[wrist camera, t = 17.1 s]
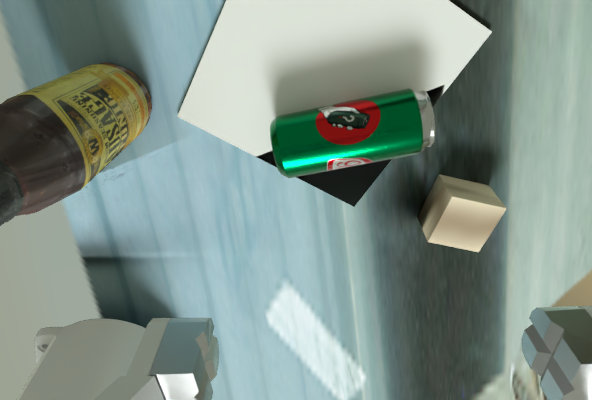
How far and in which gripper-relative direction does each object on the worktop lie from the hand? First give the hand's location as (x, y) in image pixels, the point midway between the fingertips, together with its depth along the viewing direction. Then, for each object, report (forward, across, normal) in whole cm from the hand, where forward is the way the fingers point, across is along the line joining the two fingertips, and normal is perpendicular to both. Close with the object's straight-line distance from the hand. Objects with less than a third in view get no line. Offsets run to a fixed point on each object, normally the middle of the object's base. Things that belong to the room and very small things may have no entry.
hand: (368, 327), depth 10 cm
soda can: (+22, +4, +5) cm, 23 cm away
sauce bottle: (+25, +17, +1) cm, 30 cm away
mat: (+25, 0, 0) cm, 25 cm away
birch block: (+25, -12, +12) cm, 30 cm away
